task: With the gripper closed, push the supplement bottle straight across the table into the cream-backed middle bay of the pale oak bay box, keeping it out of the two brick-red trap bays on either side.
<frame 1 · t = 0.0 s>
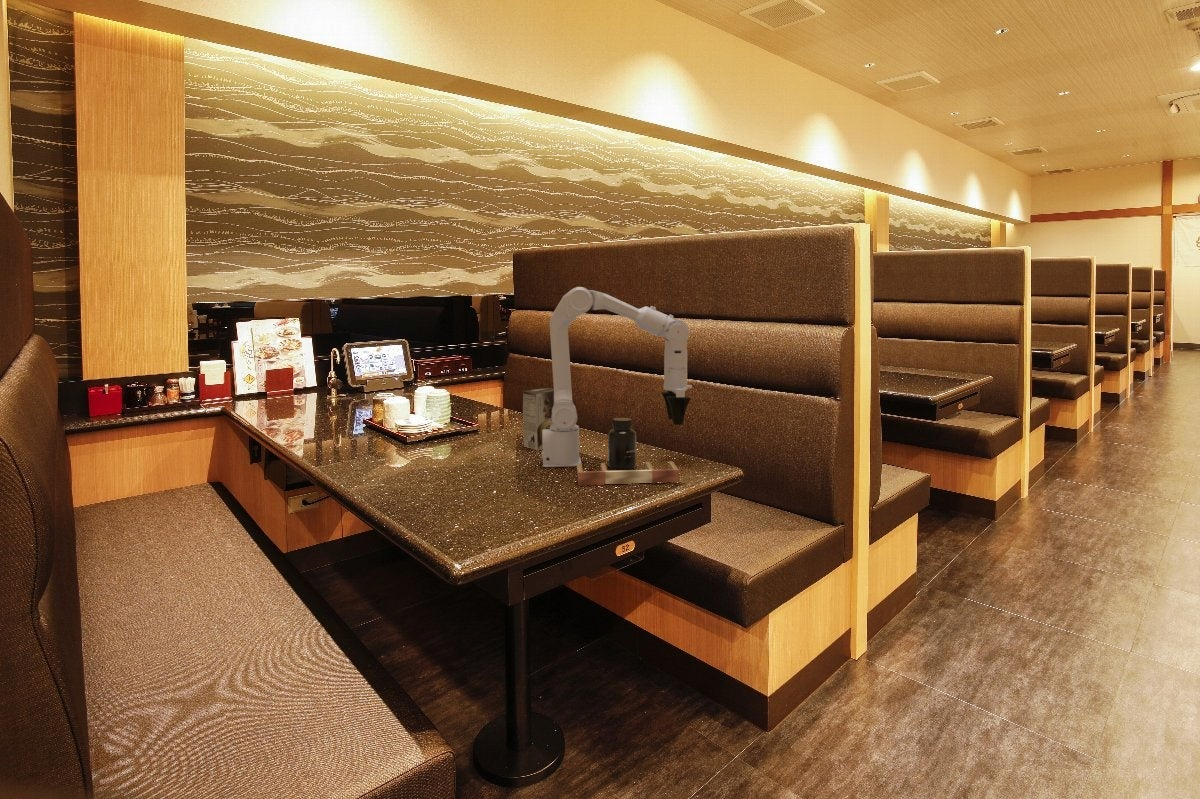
hand: (675, 421, 174), 10 cm above the table, tool pointing down, fingers open, 7 cm apart
supplement bottle: (622, 467, 170), on the table
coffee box: (542, 447, 194), on the table
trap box: (626, 479, 159), on the table
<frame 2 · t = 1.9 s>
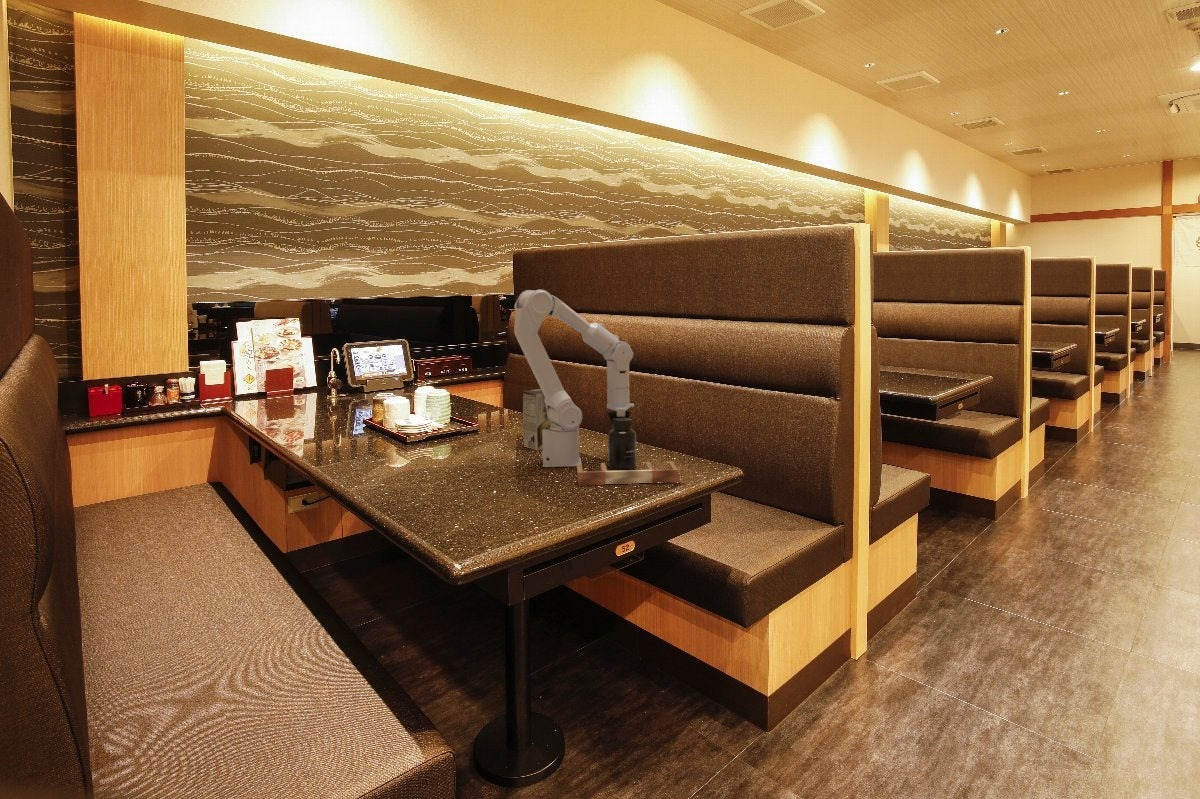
hand: (618, 439, 179), 5 cm above the table, tool pointing down, fingers closed
nothing on the table moved.
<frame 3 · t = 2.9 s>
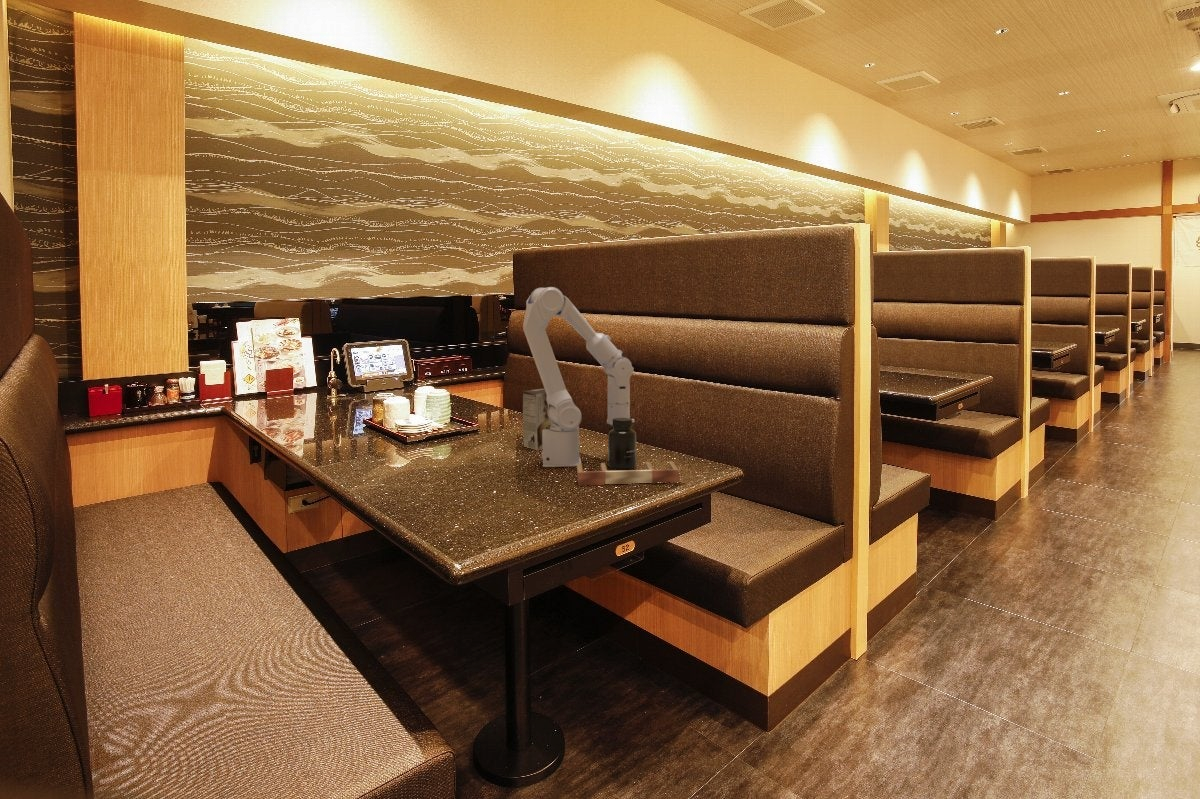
hand: (618, 454, 179), 1 cm above the table, tool pointing down, fingers closed
nothing on the table moved.
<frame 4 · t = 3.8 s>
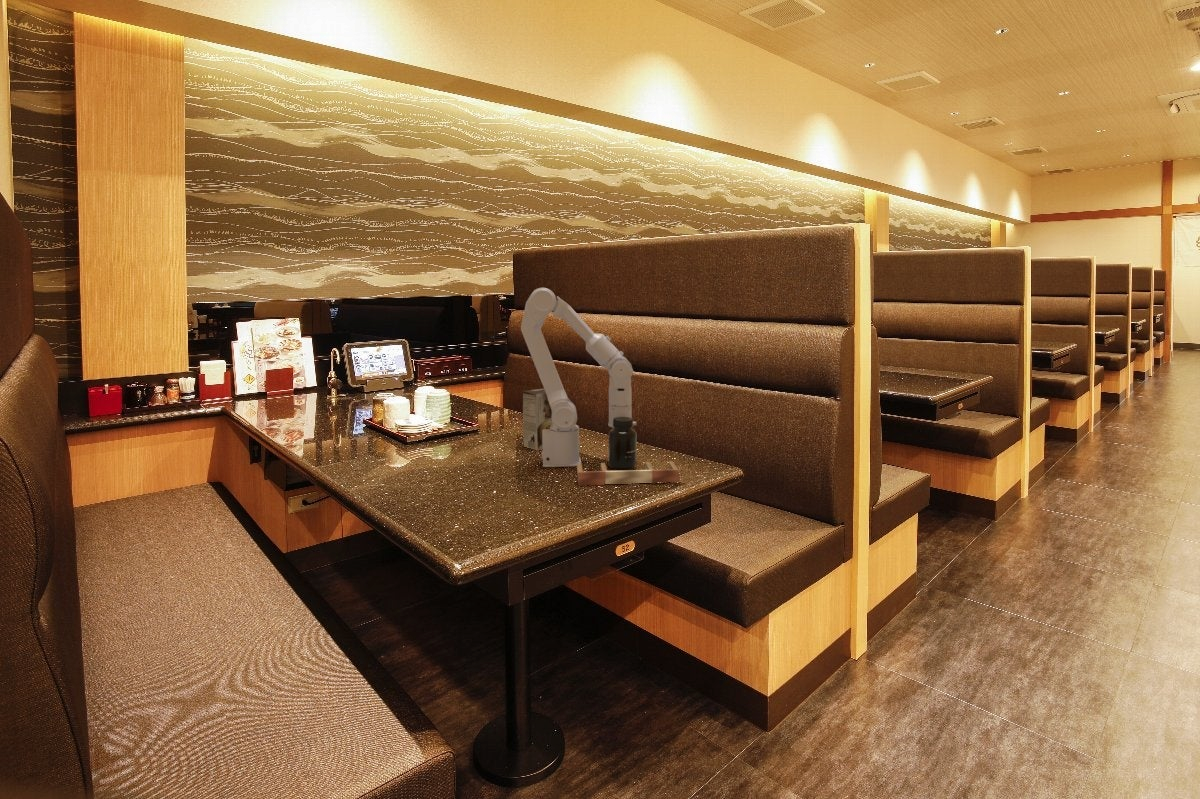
hand: (620, 458, 175), 1 cm above the table, tool pointing down, fingers closed, pressing on supplement bottle
supplement bottle: (622, 466, 170), on the table, touching gripper
everything else where it was.
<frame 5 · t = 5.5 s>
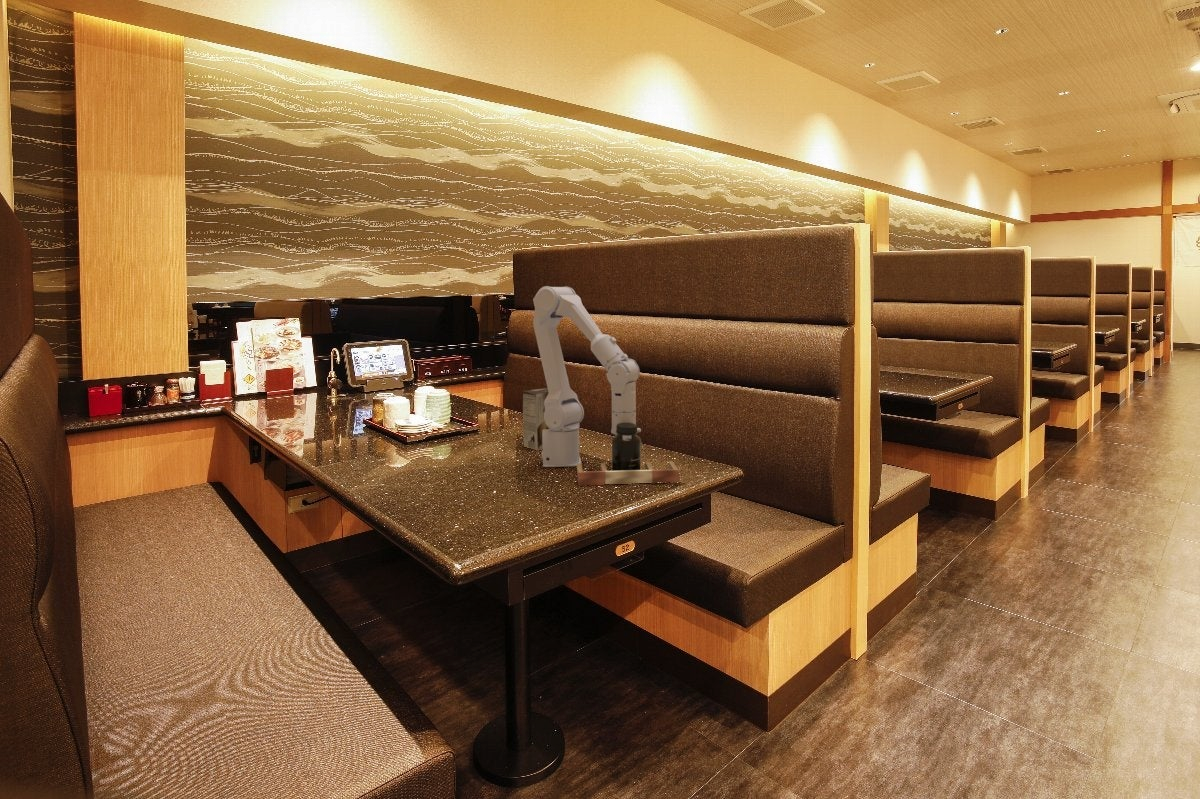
hand: (624, 466, 166), 1 cm above the table, tool pointing down, fingers closed, pressing on supplement bottle
supplement bottle: (625, 475, 162), on the table, touching gripper
everything else where it was.
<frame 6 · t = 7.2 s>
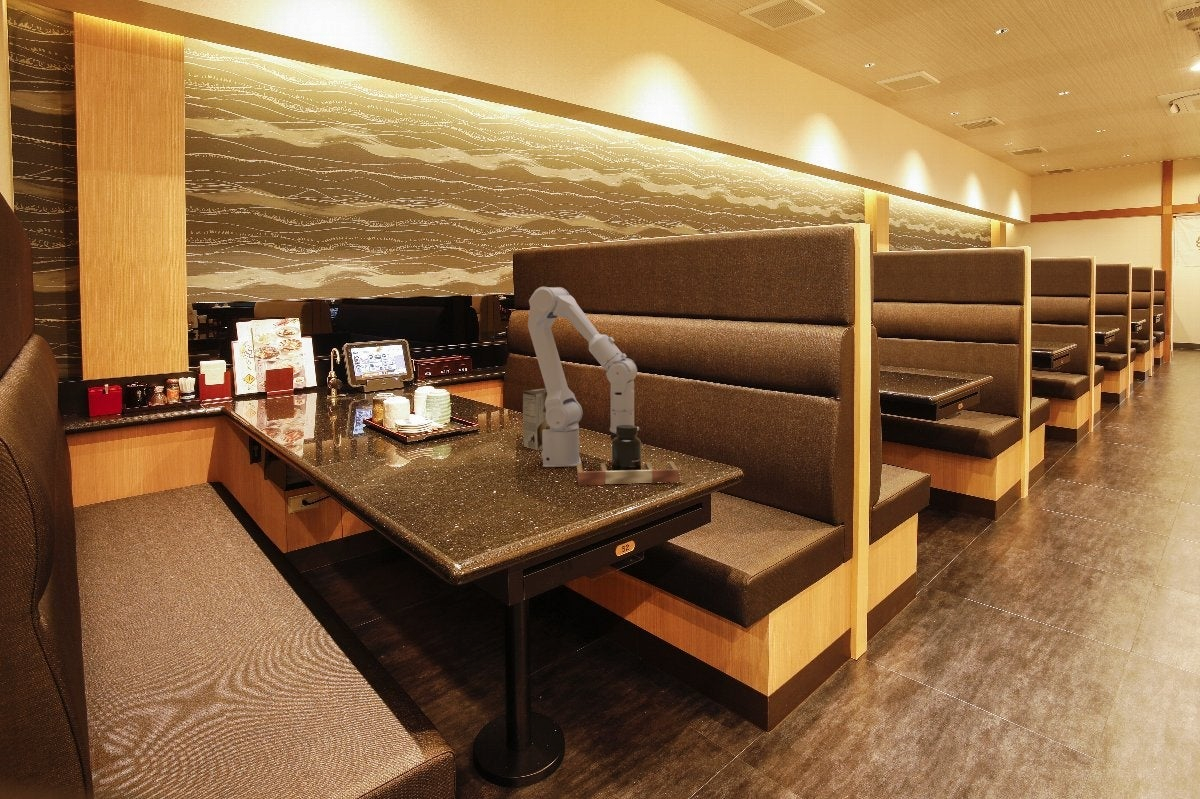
hand: (622, 464, 168), 1 cm above the table, tool pointing down, fingers closed
supplement bottle: (626, 478, 160), on the table
everything else where it was.
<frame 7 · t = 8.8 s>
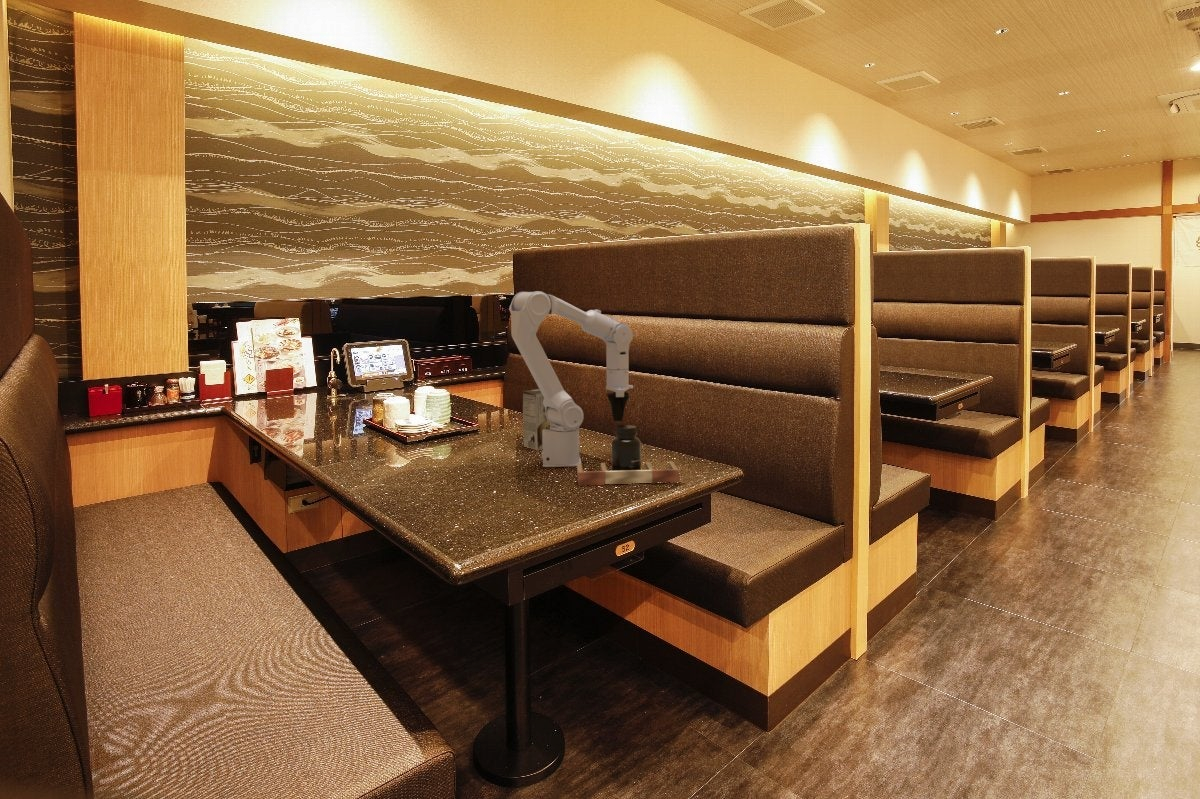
hand: (617, 420, 181), 9 cm above the table, tool pointing down, fingers closed
nothing on the table moved.
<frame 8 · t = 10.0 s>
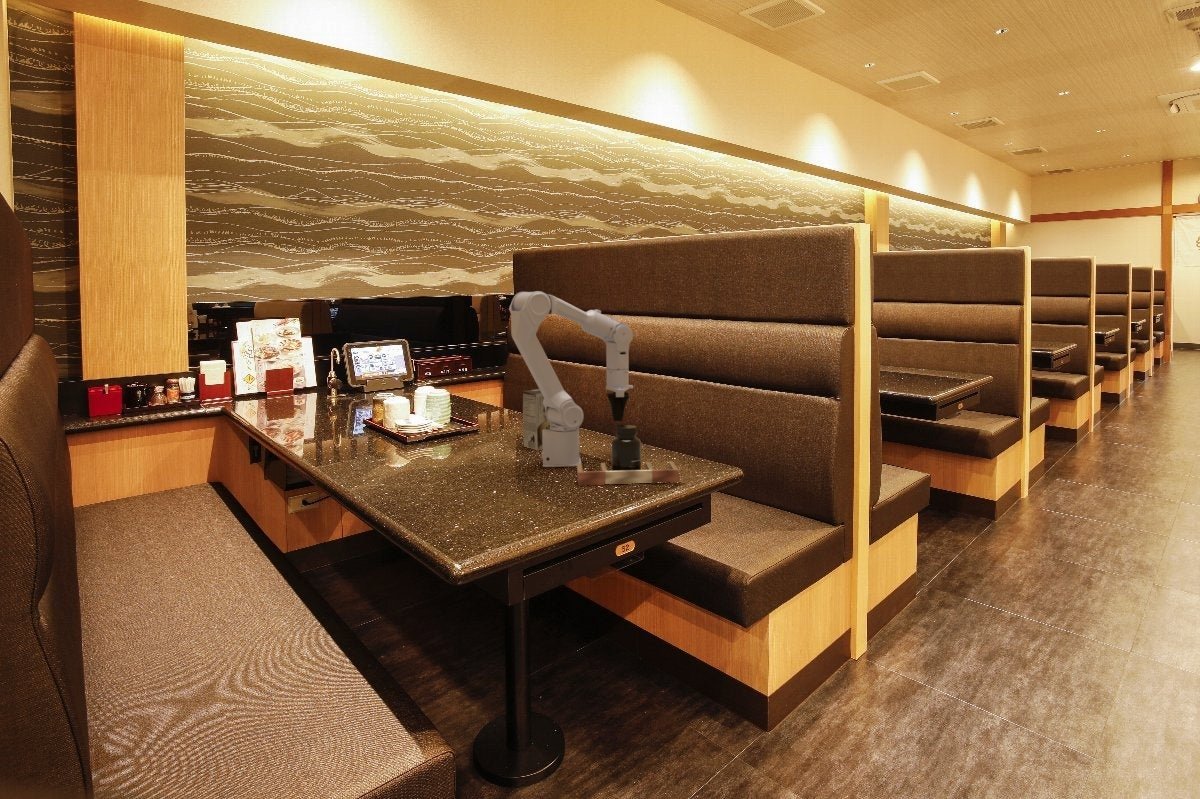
hand: (617, 420, 181), 9 cm above the table, tool pointing down, fingers closed
nothing on the table moved.
at the end: supplement bottle inside the target area (1.3 cm from its centre), on the table; supplement bottle tilted 0°; supplement bottle moved 9.9 cm from its start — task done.
